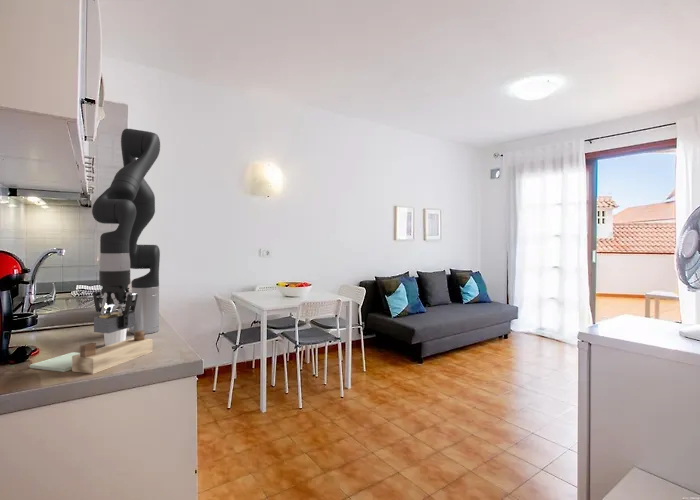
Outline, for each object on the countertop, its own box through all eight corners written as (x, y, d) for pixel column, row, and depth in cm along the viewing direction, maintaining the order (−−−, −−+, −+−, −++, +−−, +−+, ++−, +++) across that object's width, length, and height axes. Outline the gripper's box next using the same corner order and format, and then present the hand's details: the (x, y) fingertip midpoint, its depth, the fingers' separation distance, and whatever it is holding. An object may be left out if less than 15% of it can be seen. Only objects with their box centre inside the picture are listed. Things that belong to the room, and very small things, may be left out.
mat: (29, 367, 99) (29, 364, 99) (72, 354, 111) (72, 352, 111) (64, 372, 96) (64, 368, 96) (104, 358, 108) (104, 355, 108)
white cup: (120, 341, 127) (120, 321, 126) (131, 344, 123) (131, 323, 123) (98, 346, 121) (98, 324, 121) (109, 349, 117) (109, 327, 117)
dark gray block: (93, 332, 102) (93, 315, 102) (121, 324, 111) (121, 309, 111) (108, 333, 101) (108, 316, 101) (135, 326, 110) (135, 310, 109)
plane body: (72, 371, 97) (72, 344, 97) (134, 350, 116) (134, 328, 116) (93, 373, 95) (93, 347, 95) (152, 352, 115) (152, 329, 115)
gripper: (146, 268, 107) (146, 326, 108) (106, 267, 111) (106, 323, 111) (124, 270, 100) (124, 332, 100) (82, 269, 103) (83, 328, 104)
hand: (115, 327), depth 106 cm, fingers closed on dark gray block, 5 cm apart
